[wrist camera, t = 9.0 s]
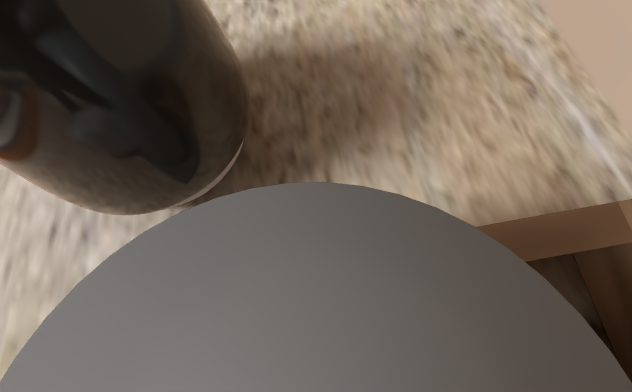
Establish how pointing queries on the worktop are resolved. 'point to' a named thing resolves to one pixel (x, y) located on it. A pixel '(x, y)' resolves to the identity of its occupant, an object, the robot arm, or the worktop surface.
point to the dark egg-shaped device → (119, 101)
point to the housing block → (585, 259)
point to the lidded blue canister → (314, 306)
